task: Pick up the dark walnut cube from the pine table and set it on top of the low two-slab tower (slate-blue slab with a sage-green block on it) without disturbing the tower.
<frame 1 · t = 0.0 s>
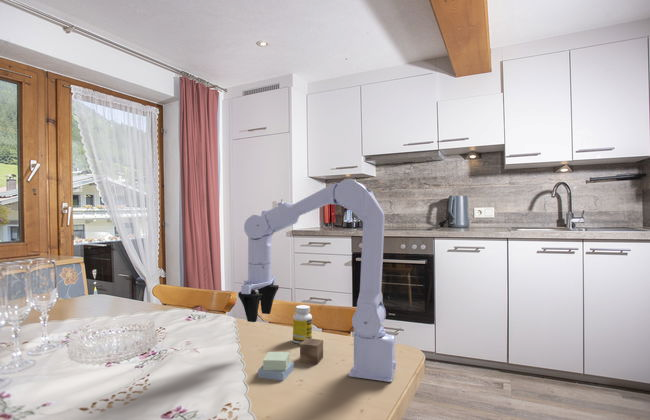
hand: (259, 317, 93), 10 cm above the table, fingers open, 7 cm apart
sage block: (276, 365, 84), point 2 cm above the table, touching slate slab
slate slab: (276, 375, 84), on the table, touching sage block
walnut cube: (311, 360, 92), on the table
supplement bottle: (302, 341, 105), on the table
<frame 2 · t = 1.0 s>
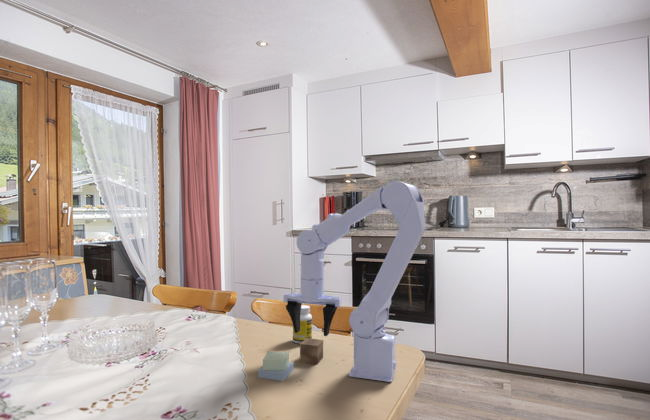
hand: (311, 333, 92), 6 cm above the table, fingers open, 7 cm apart
nothing on the table moved.
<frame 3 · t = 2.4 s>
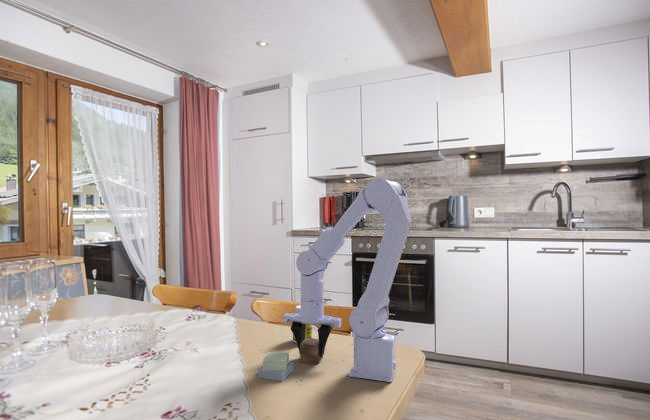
hand: (311, 353, 92), 1 cm above the table, fingers closed on walnut cube, 4 cm apart
walnut cube: (311, 359, 92), on the table, touching gripper
everything else where it was.
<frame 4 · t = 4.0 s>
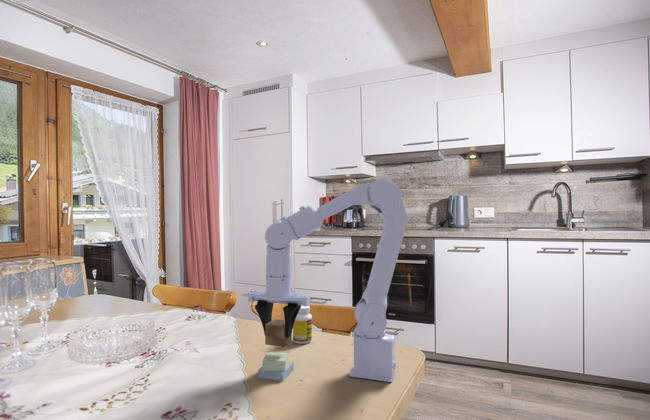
hand: (278, 335, 84), 8 cm above the table, fingers closed on walnut cube, 4 cm apart
walnut cube: (278, 342, 85), point 7 cm above the table, touching gripper
everything else where it was.
when the fingers open (7 cm above the table, at t = 5.3 s): walnut cube drops 1 cm, point 4 cm above the table.
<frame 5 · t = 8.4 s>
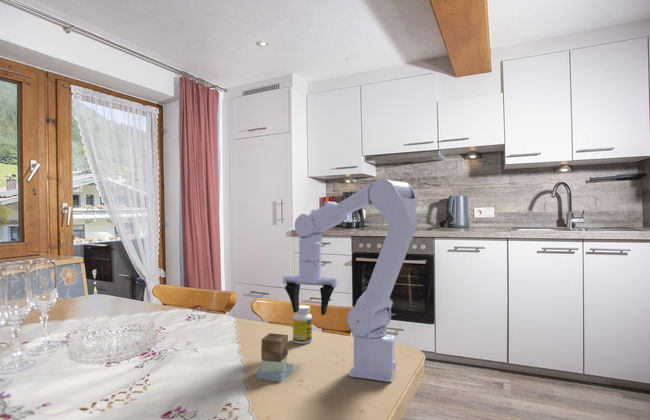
hand: (309, 312, 96), 10 cm above the table, fingers open, 7 cm apart
walnut cube: (274, 357, 83), point 4 cm above the table
everything else where it was.
at the end: walnut cube 0.1 cm off-centre on the sage block, point 2.2 cm above the sage block's base; walnut cube tilted 2°; sage block 0.2 cm from the slate slab (horizontally) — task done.
